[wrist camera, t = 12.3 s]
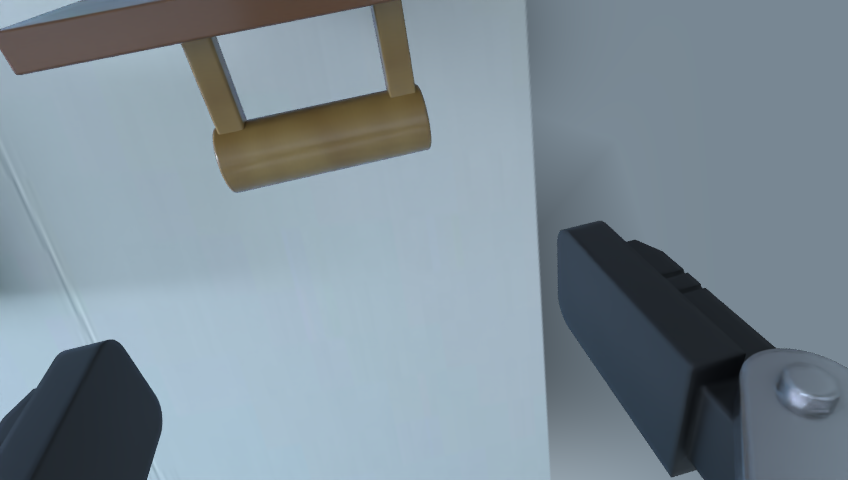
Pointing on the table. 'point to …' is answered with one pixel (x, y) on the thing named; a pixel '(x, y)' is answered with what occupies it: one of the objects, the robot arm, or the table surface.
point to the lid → (233, 134)
